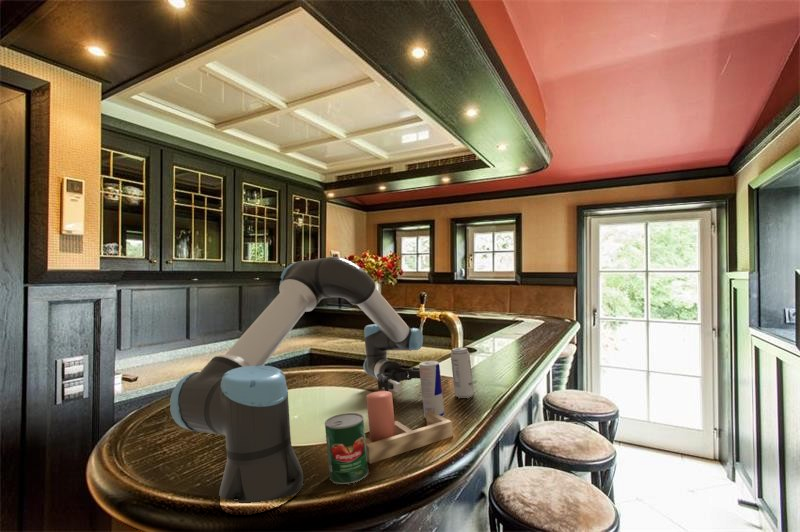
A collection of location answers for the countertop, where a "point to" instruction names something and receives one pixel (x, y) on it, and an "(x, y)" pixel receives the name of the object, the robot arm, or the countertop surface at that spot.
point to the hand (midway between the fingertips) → (420, 383)
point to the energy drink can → (462, 372)
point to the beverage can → (431, 387)
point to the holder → (409, 438)
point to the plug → (380, 415)
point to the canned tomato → (346, 448)
